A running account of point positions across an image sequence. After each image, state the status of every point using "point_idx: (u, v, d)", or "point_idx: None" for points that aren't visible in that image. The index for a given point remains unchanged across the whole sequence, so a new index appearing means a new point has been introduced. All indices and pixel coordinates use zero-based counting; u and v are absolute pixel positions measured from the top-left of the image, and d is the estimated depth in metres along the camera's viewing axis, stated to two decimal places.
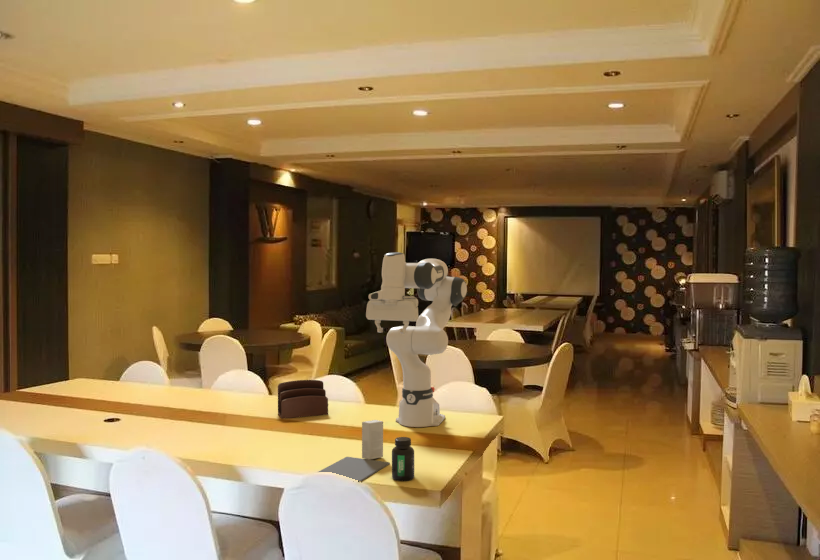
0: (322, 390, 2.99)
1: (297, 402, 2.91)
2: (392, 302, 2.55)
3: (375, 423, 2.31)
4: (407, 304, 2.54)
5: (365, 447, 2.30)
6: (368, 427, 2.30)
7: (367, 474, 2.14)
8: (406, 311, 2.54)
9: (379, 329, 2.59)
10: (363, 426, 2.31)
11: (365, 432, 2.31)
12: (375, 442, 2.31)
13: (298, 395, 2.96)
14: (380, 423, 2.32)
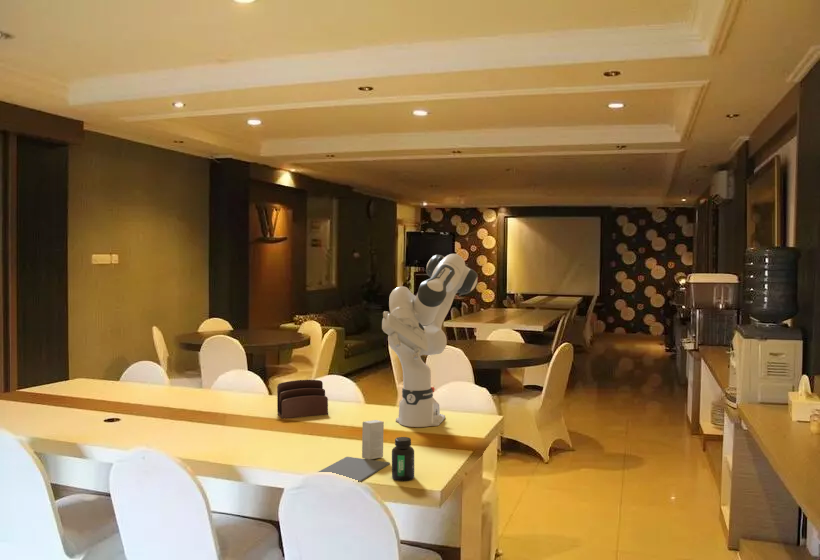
0: (322, 390, 3.00)
1: (297, 402, 2.91)
2: None
3: (376, 423, 2.31)
4: None
5: (365, 447, 2.30)
6: (368, 427, 2.29)
7: (367, 474, 2.14)
8: None
9: None
10: (363, 426, 2.31)
11: (365, 432, 2.31)
12: (375, 442, 2.30)
13: (298, 395, 2.96)
14: (380, 423, 2.32)
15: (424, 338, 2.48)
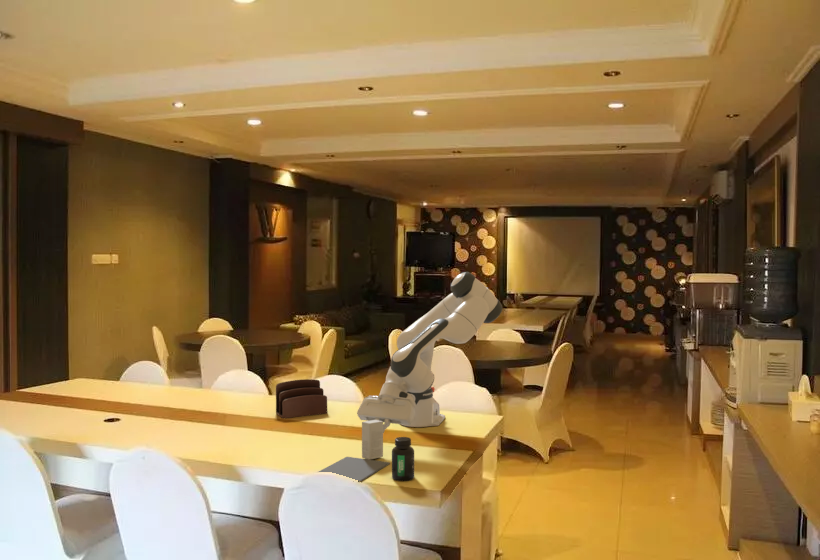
0: (320, 389, 3.01)
1: (297, 401, 2.92)
2: None
3: (375, 423, 2.31)
4: None
5: (365, 447, 2.30)
6: (368, 427, 2.29)
7: (367, 474, 2.14)
8: None
9: None
10: (363, 426, 2.31)
11: (365, 432, 2.30)
12: (375, 442, 2.30)
13: (297, 395, 2.97)
14: (380, 423, 2.32)
15: (407, 405, 2.37)
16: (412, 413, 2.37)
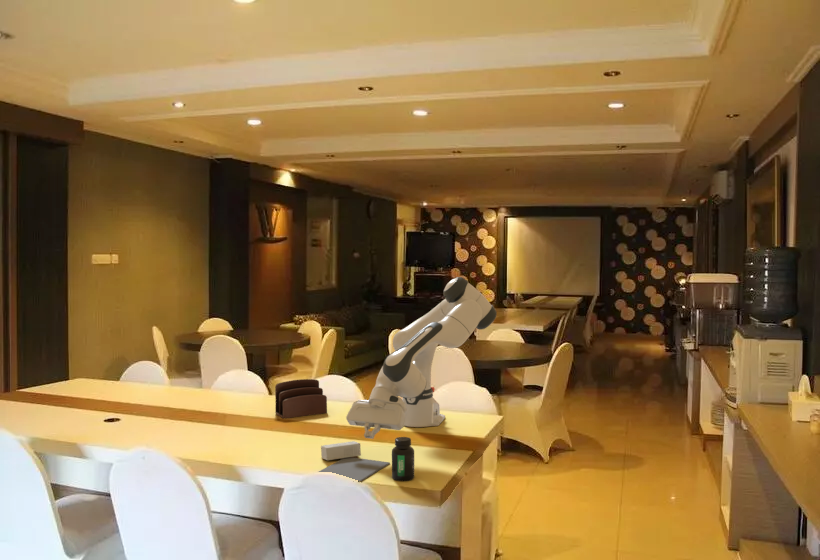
0: (319, 389, 3.02)
1: (297, 401, 2.92)
2: None
3: (324, 447, 2.30)
4: None
5: (350, 451, 2.31)
6: (330, 449, 2.29)
7: (367, 474, 2.14)
8: None
9: None
10: (330, 457, 2.28)
11: (336, 454, 2.29)
12: (342, 444, 2.33)
13: (297, 395, 2.97)
14: (323, 445, 2.32)
15: (397, 410, 2.30)
16: (402, 418, 2.30)
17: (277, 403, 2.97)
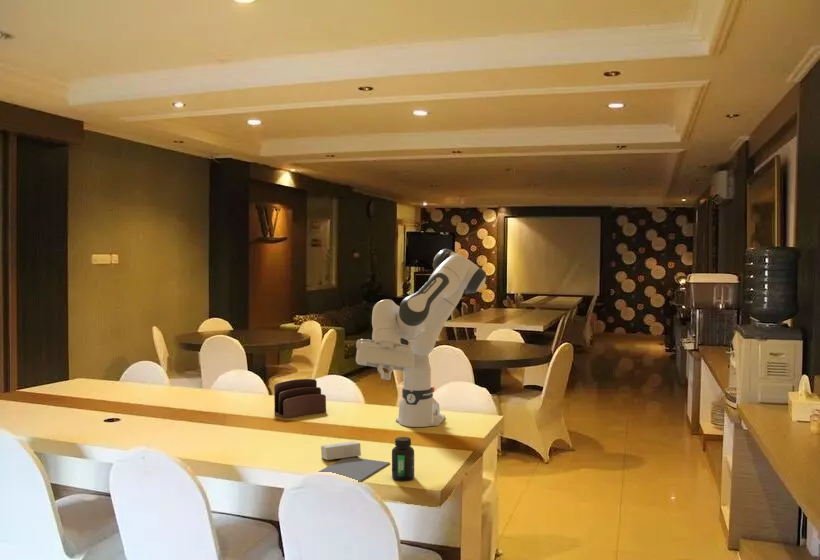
0: (318, 388, 3.03)
1: (298, 401, 2.93)
2: None
3: (324, 446, 2.30)
4: None
5: (350, 451, 2.31)
6: (330, 449, 2.29)
7: (367, 474, 2.14)
8: None
9: None
10: (330, 457, 2.28)
11: (336, 453, 2.29)
12: (342, 444, 2.33)
13: (296, 394, 2.97)
14: (323, 445, 2.33)
15: (409, 353, 2.38)
16: None
17: (276, 403, 2.97)
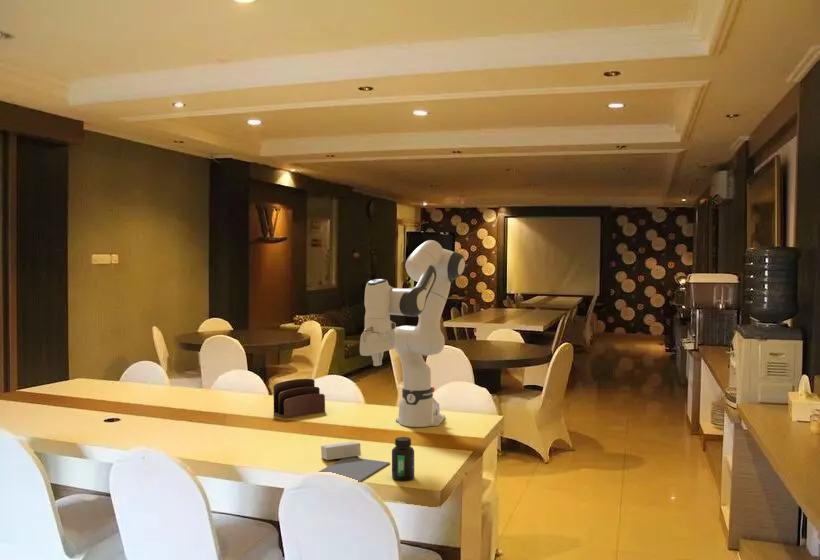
0: (316, 388, 3.04)
1: (298, 401, 2.93)
2: None
3: (324, 446, 2.30)
4: None
5: (350, 451, 2.31)
6: (330, 449, 2.29)
7: (367, 474, 2.14)
8: None
9: None
10: (330, 457, 2.28)
11: (336, 453, 2.29)
12: (342, 444, 2.33)
13: (295, 394, 2.97)
14: (323, 445, 2.33)
15: (393, 335, 2.50)
16: None
17: (275, 403, 2.97)
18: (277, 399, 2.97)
